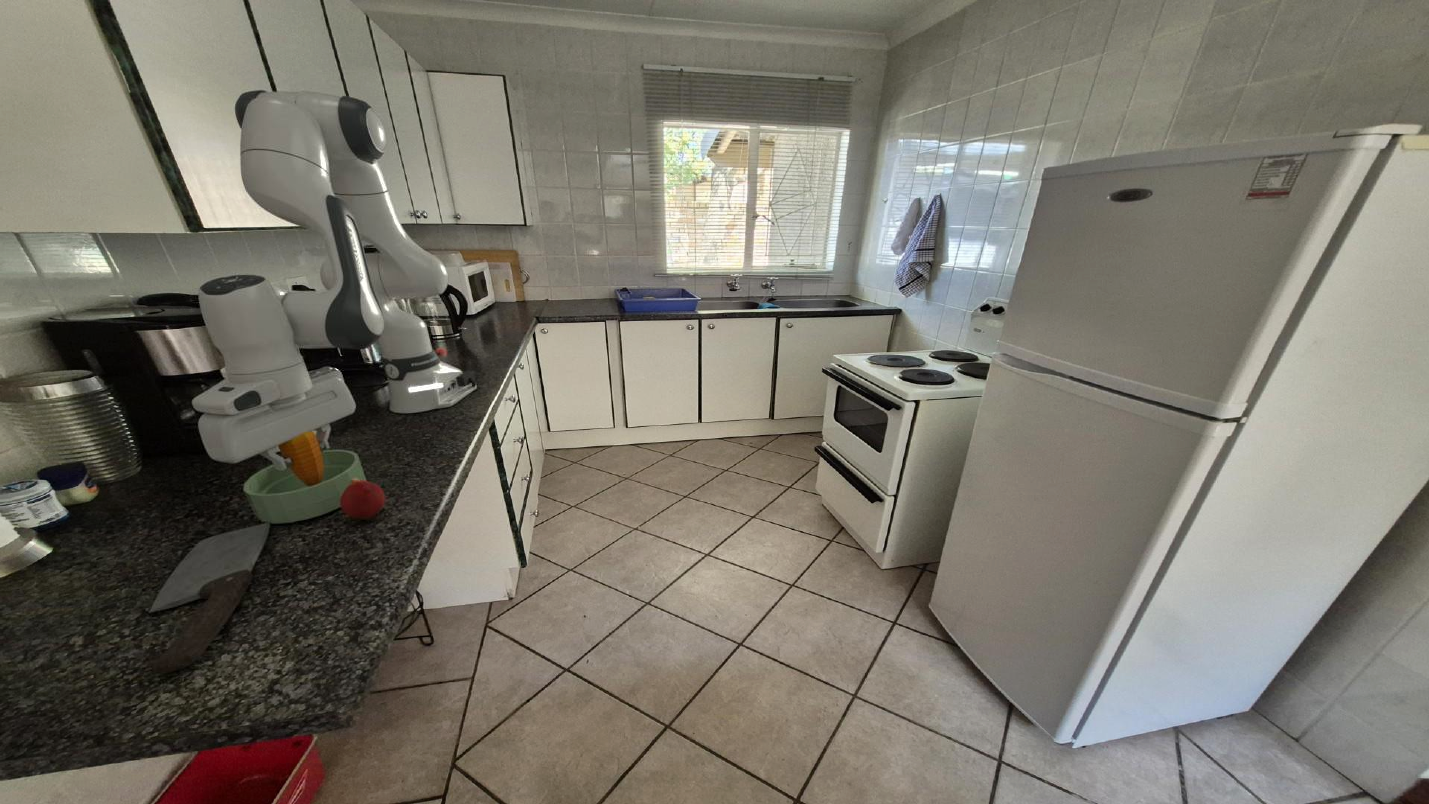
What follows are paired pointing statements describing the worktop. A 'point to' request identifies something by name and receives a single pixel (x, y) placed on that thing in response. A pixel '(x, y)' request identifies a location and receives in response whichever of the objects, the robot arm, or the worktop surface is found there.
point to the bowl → (302, 489)
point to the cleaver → (208, 590)
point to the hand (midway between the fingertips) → (304, 459)
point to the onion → (362, 499)
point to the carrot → (305, 458)
